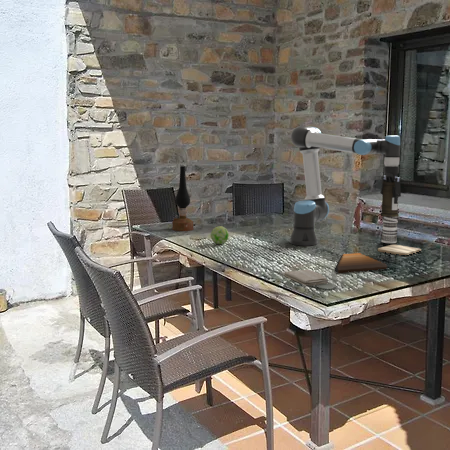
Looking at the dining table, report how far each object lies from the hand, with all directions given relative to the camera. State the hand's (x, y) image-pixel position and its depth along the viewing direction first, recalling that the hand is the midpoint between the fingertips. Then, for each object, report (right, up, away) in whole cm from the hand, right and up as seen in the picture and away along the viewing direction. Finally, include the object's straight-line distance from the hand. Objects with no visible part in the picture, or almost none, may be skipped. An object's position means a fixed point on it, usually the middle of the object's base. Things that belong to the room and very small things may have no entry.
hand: (389, 208), depth 301 cm
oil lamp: (-113, -11, +56) cm, 127 cm away
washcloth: (-52, -32, -57) cm, 84 cm away
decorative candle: (+7, -18, +24) cm, 31 cm away
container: (0, -4, +1) cm, 4 cm away
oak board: (+5, -22, -1) cm, 23 cm away
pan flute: (-28, -28, -31) cm, 51 cm away
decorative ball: (-90, -19, +13) cm, 93 cm away
